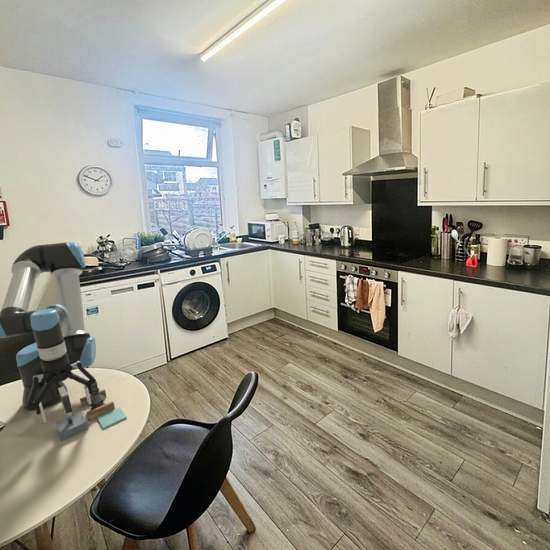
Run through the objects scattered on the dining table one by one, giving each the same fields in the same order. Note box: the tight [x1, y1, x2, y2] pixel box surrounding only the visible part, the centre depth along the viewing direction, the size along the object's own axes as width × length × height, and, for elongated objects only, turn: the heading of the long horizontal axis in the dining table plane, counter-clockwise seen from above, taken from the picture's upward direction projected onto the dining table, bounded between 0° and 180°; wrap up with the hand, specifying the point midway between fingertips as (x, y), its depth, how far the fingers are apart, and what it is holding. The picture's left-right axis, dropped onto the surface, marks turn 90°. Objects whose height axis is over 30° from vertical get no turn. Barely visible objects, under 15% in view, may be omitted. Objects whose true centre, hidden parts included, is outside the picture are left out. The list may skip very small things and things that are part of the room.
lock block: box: [55, 411, 89, 442], centre depth 118 cm, size 8×8×3 cm
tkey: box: [58, 386, 73, 422], centre depth 116 cm, size 8×2×11 cm, turn 41°
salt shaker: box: [88, 381, 106, 411], centre depth 129 cm, size 6×6×12 cm
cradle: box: [79, 388, 116, 421], centre depth 130 cm, size 12×9×3 cm
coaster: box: [96, 406, 128, 430], centre depth 123 cm, size 8×8×1 cm
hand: (67, 411), depth 117 cm, fingers open, 13 cm apart
